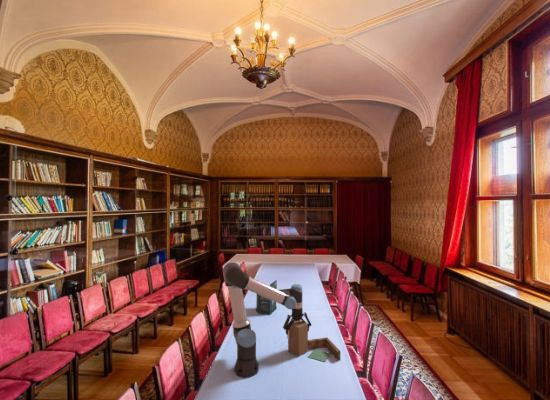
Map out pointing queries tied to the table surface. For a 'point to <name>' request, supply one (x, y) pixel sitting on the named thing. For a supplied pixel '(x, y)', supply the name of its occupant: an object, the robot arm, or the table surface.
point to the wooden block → (298, 338)
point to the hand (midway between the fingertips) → (297, 337)
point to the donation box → (266, 303)
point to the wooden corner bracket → (324, 343)
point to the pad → (319, 355)
